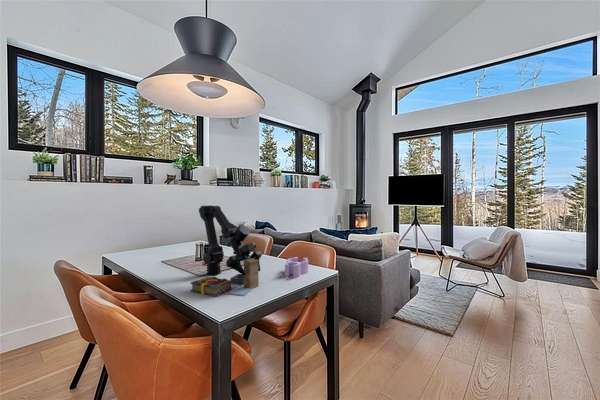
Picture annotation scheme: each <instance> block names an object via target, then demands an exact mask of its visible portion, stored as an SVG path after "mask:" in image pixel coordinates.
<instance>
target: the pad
mask: <svg viewBox="0 0 600 400" xmlns="http://www.w3.org/2000/svg"><path fill="white" fill-rule="evenodd" d="M251 291H253V289H249V288H245V287H239V286H237V287H235V288H234V289H231V291H230V290H229V292H227V293H228V295H232V296H241V297H245V296H246V295H248V294H249V293H251Z"/></svg>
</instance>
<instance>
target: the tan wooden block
mask: <svg viewBox="0 0 600 400" xmlns="http://www.w3.org/2000/svg"><path fill="white" fill-rule="evenodd" d="M243 270H244V272H245V275H244V284H243V288H249V289H252V290H253V289H256V288H258V287H259V271H258V260H256V259H247V260H244V261H243Z"/></svg>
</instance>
